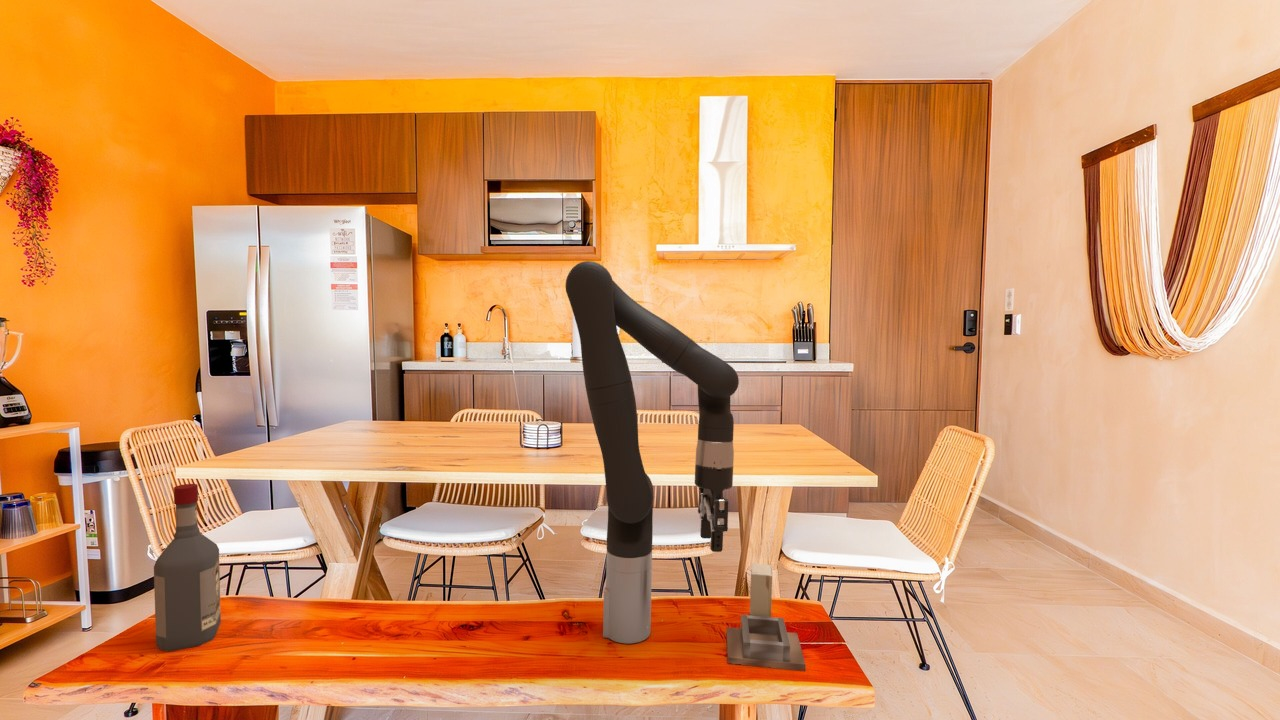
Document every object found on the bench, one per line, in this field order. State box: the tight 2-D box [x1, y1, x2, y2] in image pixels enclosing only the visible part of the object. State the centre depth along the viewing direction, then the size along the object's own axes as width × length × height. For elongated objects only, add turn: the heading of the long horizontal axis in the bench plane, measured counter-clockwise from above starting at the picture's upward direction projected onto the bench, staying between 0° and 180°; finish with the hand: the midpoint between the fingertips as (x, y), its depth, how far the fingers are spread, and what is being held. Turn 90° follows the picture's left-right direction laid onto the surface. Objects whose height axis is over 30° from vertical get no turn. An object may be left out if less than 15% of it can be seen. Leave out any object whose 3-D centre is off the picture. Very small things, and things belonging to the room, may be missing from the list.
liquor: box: [153, 483, 222, 652], centre depth 112 cm, size 9×9×30 cm
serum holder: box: [726, 614, 806, 672], centre depth 112 cm, size 14×11×4 cm
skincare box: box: [749, 562, 773, 617], centre depth 121 cm, size 6×4×12 cm
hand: (710, 544), depth 115 cm, fingers open, 8 cm apart
